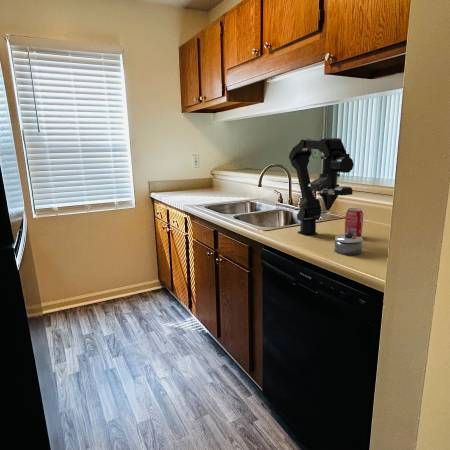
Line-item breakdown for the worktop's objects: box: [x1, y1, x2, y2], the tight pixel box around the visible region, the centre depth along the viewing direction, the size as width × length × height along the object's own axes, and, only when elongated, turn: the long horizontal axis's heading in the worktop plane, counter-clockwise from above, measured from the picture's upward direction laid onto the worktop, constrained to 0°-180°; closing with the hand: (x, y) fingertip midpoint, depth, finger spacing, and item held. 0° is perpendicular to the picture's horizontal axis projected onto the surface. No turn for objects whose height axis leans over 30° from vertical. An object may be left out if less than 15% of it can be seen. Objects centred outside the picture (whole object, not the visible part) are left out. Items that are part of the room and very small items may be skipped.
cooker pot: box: [334, 239, 363, 257], centre depth 124 cm, size 9×9×4 cm
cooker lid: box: [334, 232, 364, 243], centre depth 123 cm, size 10×10×3 cm
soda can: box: [344, 207, 364, 237], centre depth 144 cm, size 7×7×12 cm
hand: (327, 210), depth 135 cm, fingers closed
